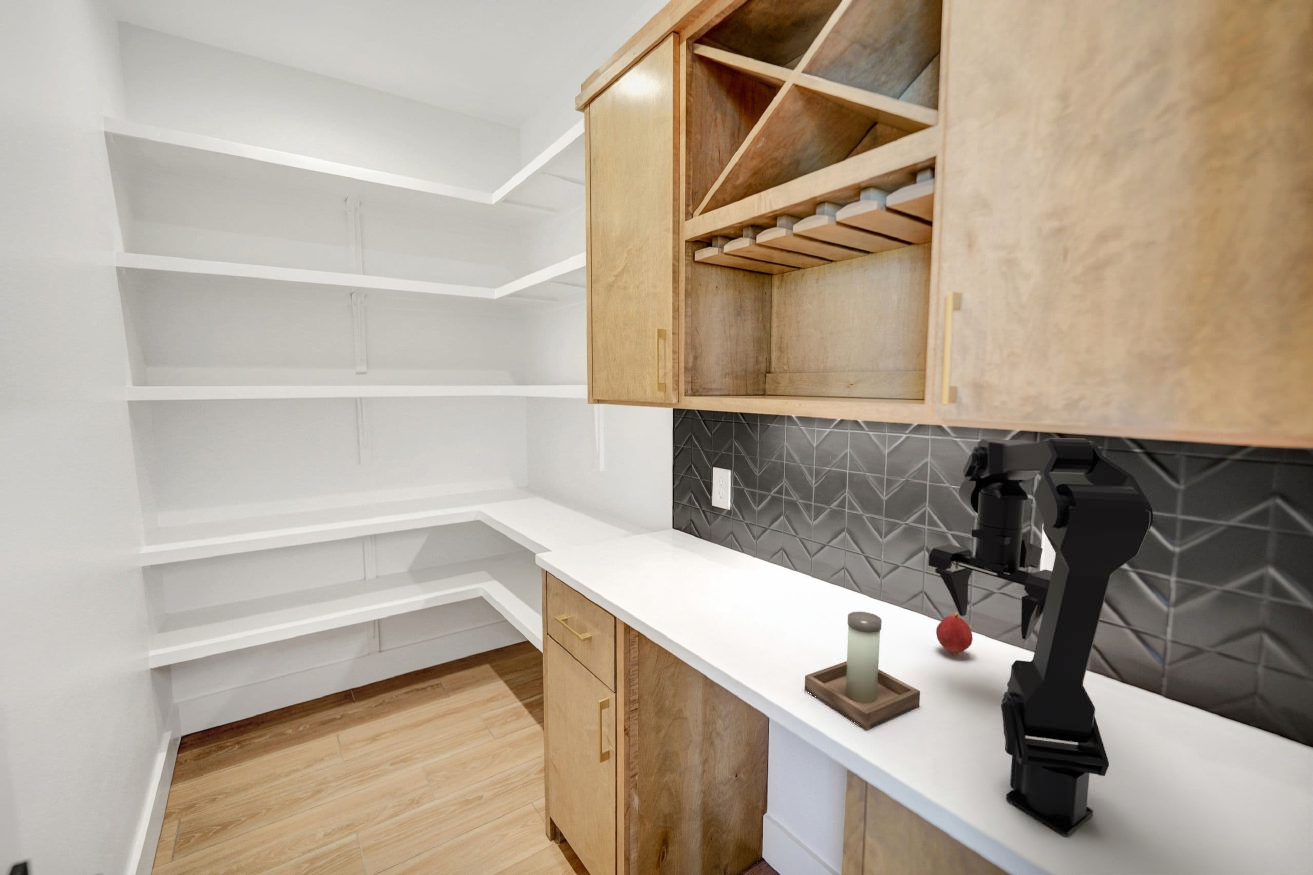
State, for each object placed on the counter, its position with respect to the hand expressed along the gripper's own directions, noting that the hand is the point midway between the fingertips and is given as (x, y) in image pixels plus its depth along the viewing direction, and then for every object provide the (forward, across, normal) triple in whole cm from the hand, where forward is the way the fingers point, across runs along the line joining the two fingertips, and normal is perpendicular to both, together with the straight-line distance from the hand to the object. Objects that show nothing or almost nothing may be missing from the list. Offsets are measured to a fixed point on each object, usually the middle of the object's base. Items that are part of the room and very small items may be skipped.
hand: (992, 626), depth 84 cm
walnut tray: (+13, +12, +14) cm, 23 cm away
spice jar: (+12, +11, +14) cm, 22 cm away
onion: (+13, +13, -12) cm, 22 cm away
